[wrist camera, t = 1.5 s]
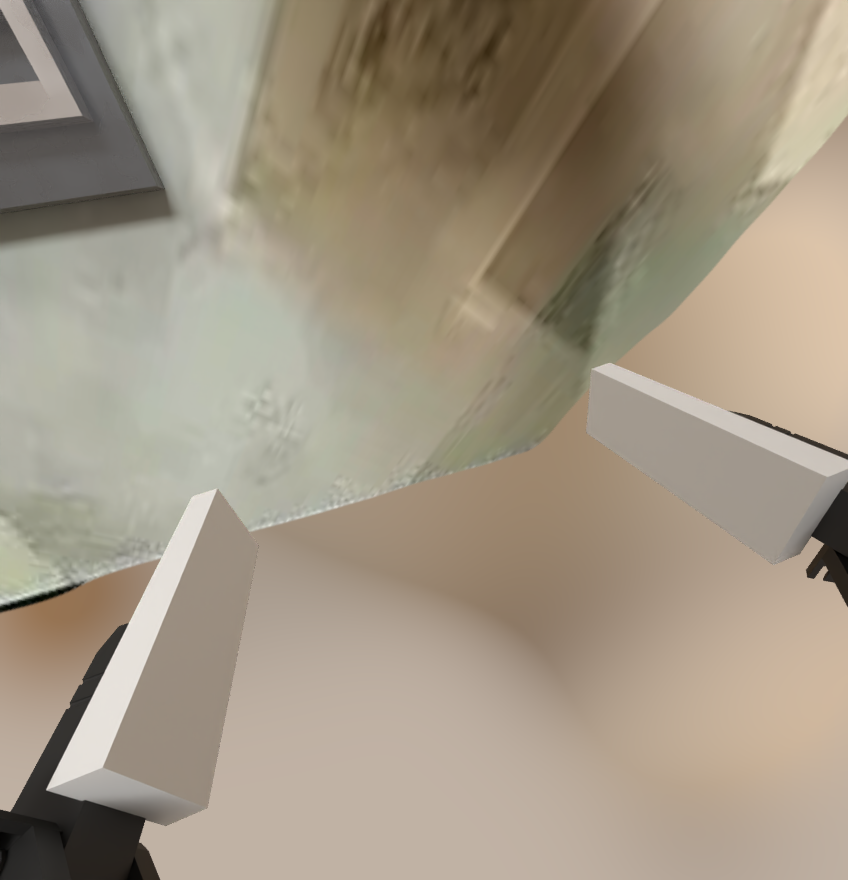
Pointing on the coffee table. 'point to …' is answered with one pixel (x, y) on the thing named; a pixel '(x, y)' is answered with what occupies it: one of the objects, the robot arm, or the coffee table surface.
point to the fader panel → (62, 113)
